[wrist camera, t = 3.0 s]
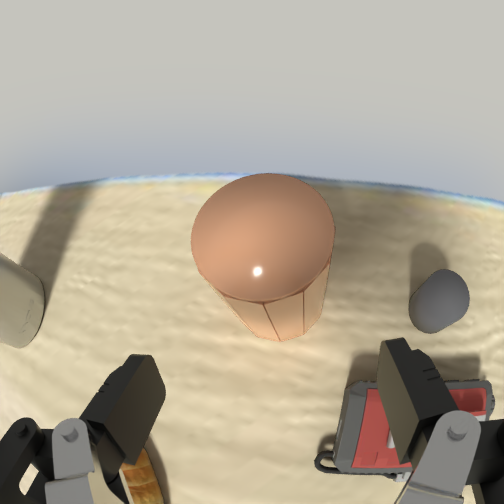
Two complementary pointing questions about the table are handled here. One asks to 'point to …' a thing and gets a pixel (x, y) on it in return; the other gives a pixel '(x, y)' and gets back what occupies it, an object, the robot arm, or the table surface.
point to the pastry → (142, 481)
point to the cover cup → (266, 252)
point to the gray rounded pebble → (439, 302)
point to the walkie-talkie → (387, 429)
